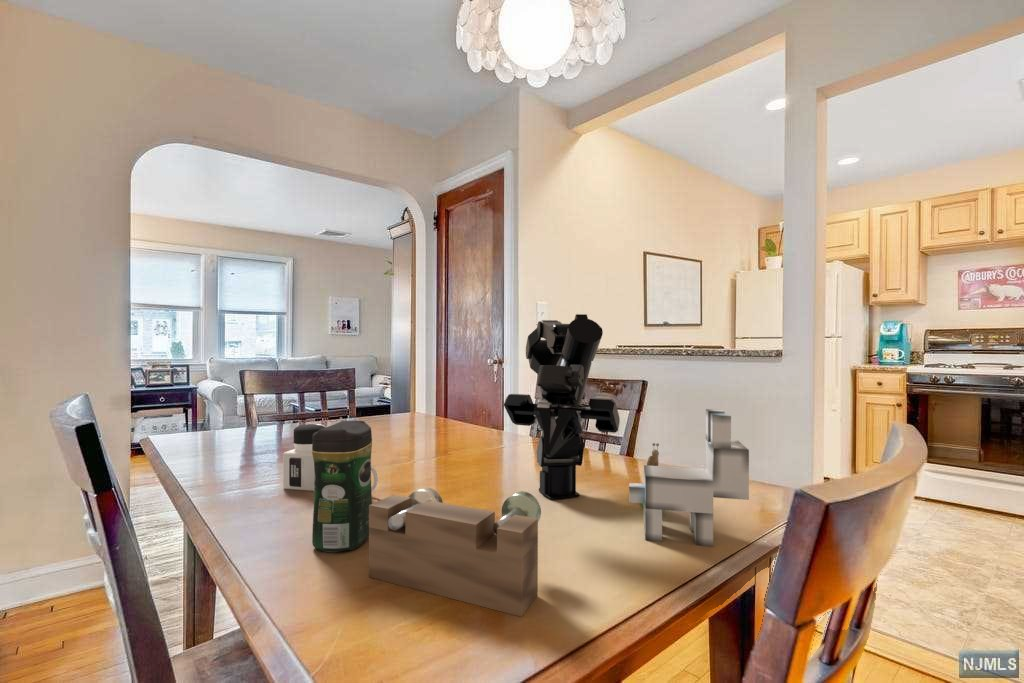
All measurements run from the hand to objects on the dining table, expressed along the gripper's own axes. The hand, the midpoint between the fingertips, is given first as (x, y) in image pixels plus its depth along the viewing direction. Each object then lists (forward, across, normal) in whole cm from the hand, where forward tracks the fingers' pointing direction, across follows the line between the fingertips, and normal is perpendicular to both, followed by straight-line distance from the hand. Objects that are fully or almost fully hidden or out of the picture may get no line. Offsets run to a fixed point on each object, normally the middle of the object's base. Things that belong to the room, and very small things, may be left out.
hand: (547, 455), depth 76 cm
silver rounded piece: (+18, -13, -7) cm, 23 cm away
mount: (+22, -6, -3) cm, 23 cm away
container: (+5, -57, +14) cm, 59 cm away
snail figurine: (-6, +13, +25) cm, 28 cm away
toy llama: (+1, +19, +18) cm, 27 cm away
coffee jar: (+19, -29, 0) cm, 35 cm away
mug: (+6, -45, +13) cm, 47 cm away
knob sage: (+15, 0, -4) cm, 15 cm away
